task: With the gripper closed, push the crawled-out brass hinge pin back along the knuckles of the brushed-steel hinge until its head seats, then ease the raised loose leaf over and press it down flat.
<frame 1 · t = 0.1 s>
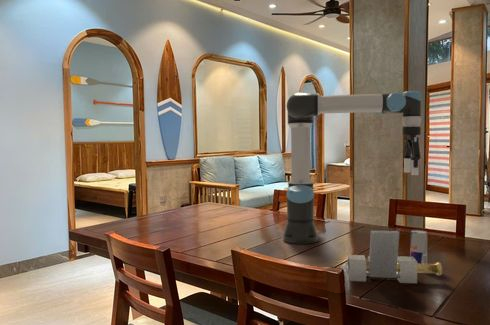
hand: (411, 173, 181), 28 cm above the table, fingers open, 13 cm apart
leaf loose: (382, 251, 125), point 9 cm above the table, hinge at 75.0°
hinge knuckle blocks: (381, 279, 127), on the table
pin: (402, 267, 126), point 4 cm above the table, slide at 6.0 cm
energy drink: (418, 266, 140), on the table
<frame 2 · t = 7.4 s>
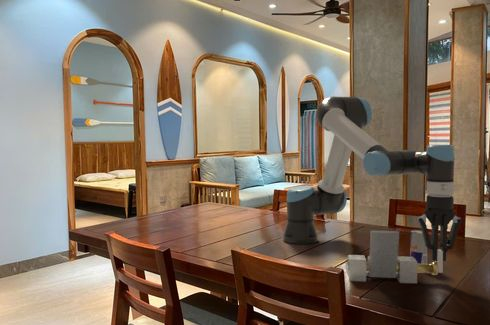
hand: (438, 271, 125), 3 cm above the table, fingers closed
pin: (398, 267, 126), point 4 cm above the table, slide at 4.8 cm, touching gripper
everything else where it was.
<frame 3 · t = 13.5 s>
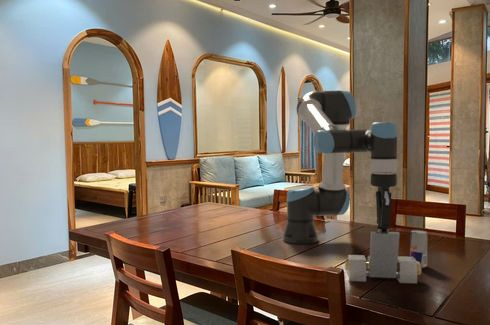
hand: (383, 249, 124), 10 cm above the table, fingers closed
leaf loose: (382, 251, 125), point 9 cm above the table, hinge at 72.9°, touching gripper
pin: (382, 266, 127), point 4 cm above the table, slide at 0.0 cm
everything else where it was.
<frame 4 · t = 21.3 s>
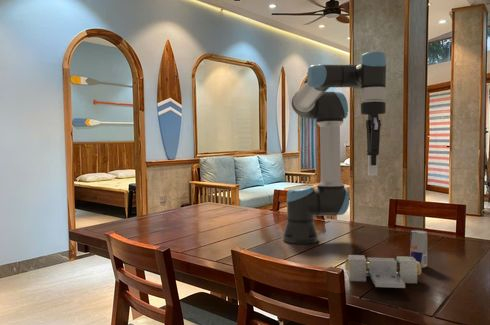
hand: (372, 175, 130), 32 cm above the table, fingers closed
leaf loose: (384, 271, 121), point 4 cm above the table, hinge at 3.4°
everything else where it was.
at the end: pin slide at 0.0 cm; leaf loose at +3° (first picture: +75°) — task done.
